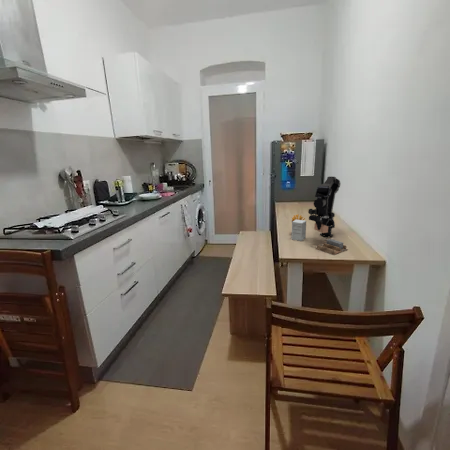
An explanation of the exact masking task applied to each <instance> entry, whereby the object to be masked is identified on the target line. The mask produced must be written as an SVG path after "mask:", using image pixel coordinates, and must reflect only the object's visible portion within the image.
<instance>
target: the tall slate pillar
mask: <svg viewBox="0 0 450 450" xmlns="http://www.w3.org/2000/svg"><path fill="white" fill-rule="evenodd" d="M325 243H326V244H330V245H333V246H336V247H339V248H340V250H341V249H343V245H344V242H342V241H339V240H336V239H332V238H329V239H326V242H325Z"/></svg>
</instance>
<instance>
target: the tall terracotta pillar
mask: <svg viewBox="0 0 450 450" xmlns="http://www.w3.org/2000/svg"><path fill="white" fill-rule="evenodd" d="M313 229H314V230H315V231H317V232H320V233H321V234H322V233H327V232H328V226H326V225H323V224H322V225H321V228H320V230H318V228H317V225H316V222H315V223H314V227H313Z"/></svg>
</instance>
